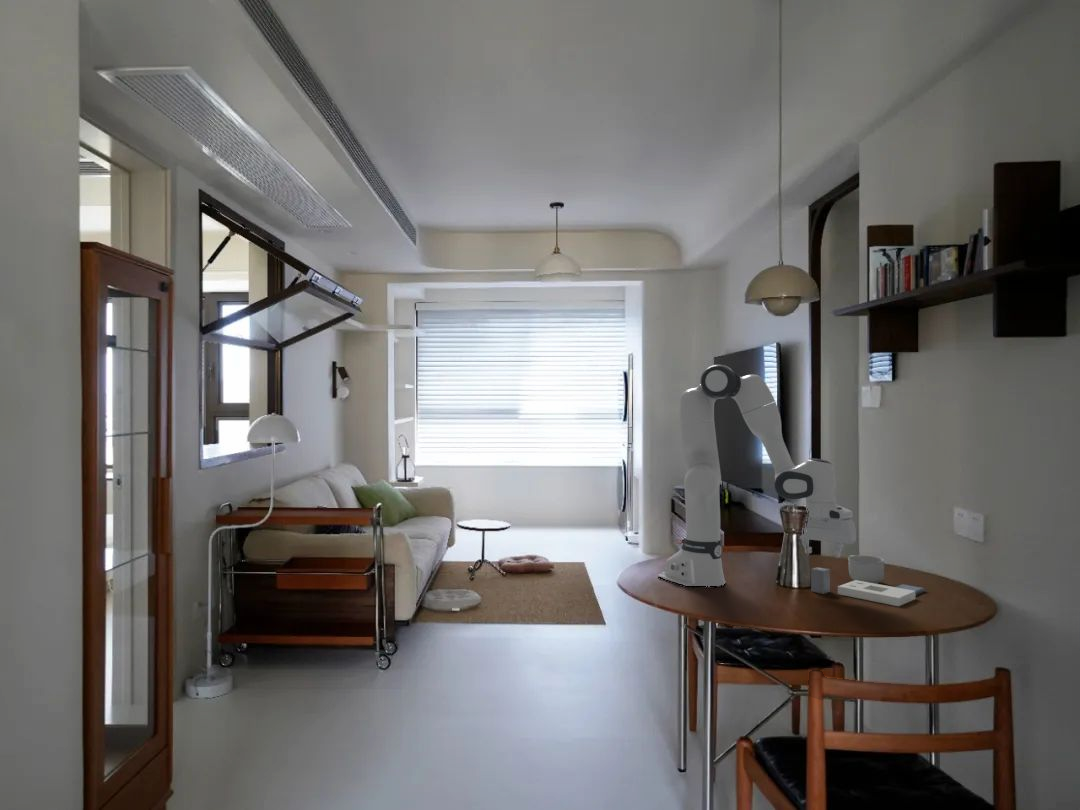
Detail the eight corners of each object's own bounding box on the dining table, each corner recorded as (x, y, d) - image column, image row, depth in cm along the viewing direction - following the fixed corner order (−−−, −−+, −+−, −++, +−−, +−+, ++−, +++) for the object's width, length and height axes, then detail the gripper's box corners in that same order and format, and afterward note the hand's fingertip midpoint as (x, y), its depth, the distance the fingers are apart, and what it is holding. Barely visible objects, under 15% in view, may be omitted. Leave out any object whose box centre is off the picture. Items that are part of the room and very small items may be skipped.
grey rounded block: (890, 586, 226) (890, 561, 226) (856, 586, 226) (856, 561, 226) (870, 576, 240) (869, 552, 240) (838, 576, 240) (838, 552, 240)
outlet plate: (837, 594, 217) (837, 585, 217) (855, 587, 225) (855, 579, 225) (898, 606, 204) (898, 597, 204) (915, 599, 211) (915, 590, 211)
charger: (811, 591, 220) (811, 568, 220) (817, 589, 223) (817, 566, 223) (823, 594, 217) (823, 570, 217) (829, 591, 220) (829, 568, 220)
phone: (887, 593, 218) (887, 589, 218) (901, 587, 225) (901, 583, 225) (910, 597, 213) (910, 594, 213) (925, 591, 220) (925, 587, 220)
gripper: (785, 508, 226) (786, 552, 226) (848, 514, 211) (849, 561, 210) (795, 506, 230) (796, 549, 230) (857, 512, 215) (859, 557, 215)
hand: (822, 555), depth 220 cm, fingers open, 8 cm apart
